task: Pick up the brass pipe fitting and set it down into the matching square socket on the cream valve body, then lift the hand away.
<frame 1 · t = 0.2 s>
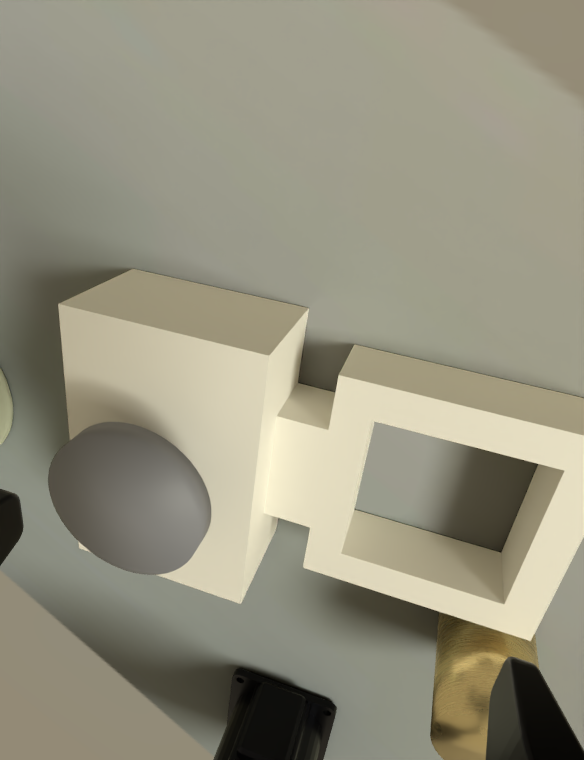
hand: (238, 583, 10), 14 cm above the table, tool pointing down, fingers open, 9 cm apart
pipe fitting: (485, 623, 27), on the table
valve body: (444, 472, 24), on the table
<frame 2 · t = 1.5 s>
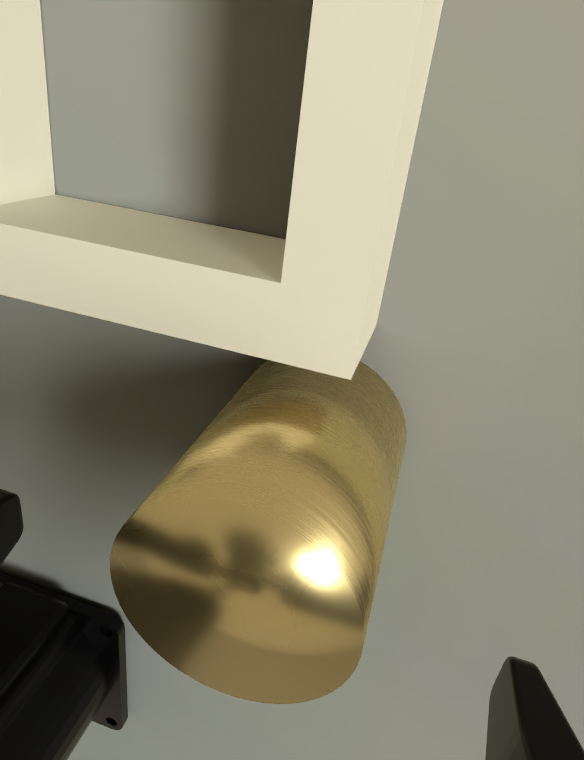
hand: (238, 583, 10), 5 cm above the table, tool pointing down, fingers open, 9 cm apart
pipe fitting: (319, 427, 14), on the table
valve body: (185, 49, 11), on the table
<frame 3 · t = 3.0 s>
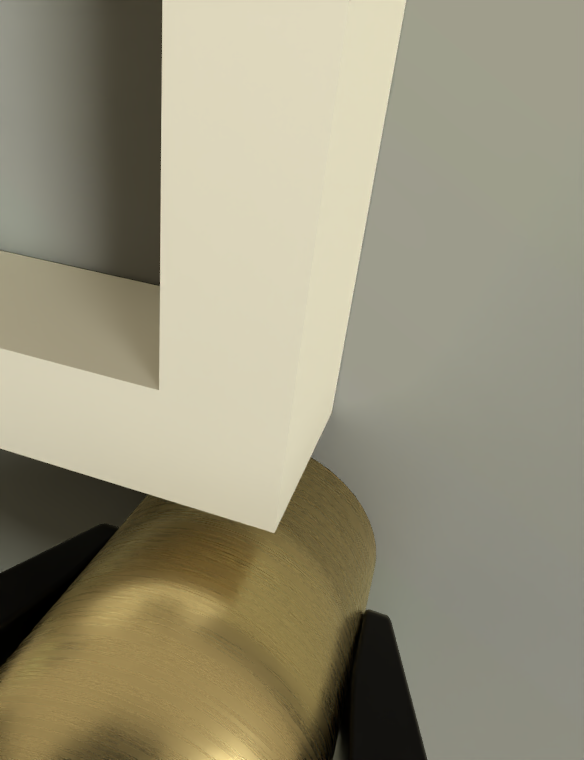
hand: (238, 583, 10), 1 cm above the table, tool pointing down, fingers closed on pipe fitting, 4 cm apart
pipe fitting: (262, 535, 11), on the table, touching gripper
valve body: (47, 28, 8), on the table
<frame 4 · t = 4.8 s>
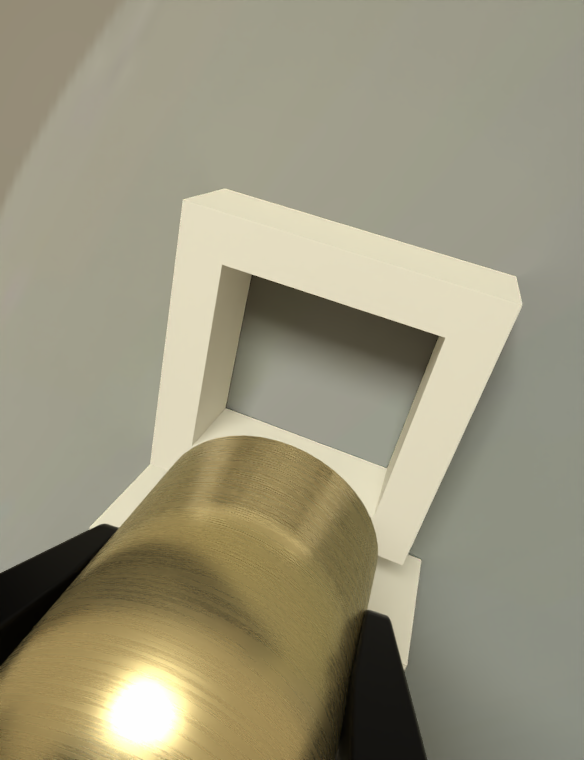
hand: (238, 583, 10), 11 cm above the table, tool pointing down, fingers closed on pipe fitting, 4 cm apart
pipe fitting: (263, 534, 11), point 10 cm above the table, touching gripper
valve body: (325, 362, 20), on the table
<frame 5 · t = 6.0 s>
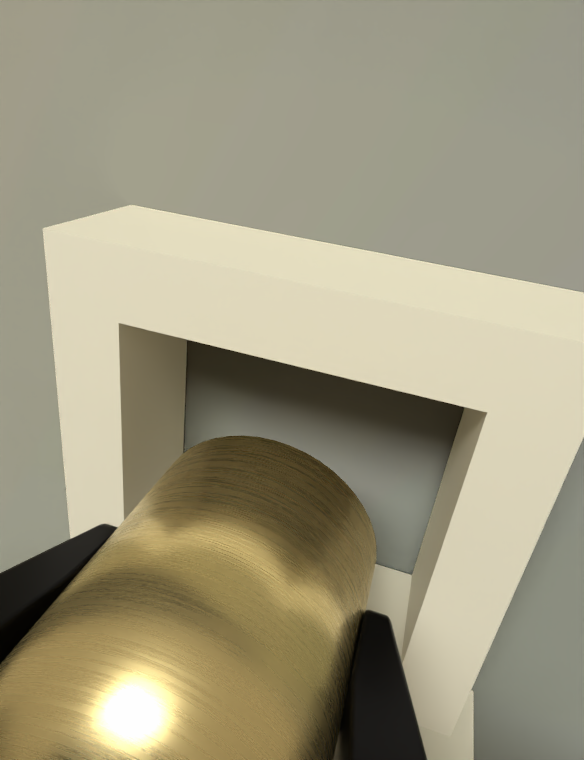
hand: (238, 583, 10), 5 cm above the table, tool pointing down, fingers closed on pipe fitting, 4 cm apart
pipe fitting: (262, 534, 11), point 4 cm above the table, touching gripper
valve body: (307, 437, 14), on the table
when the fingers open (4 cm above the table, at t = 7.0 s): pipe fitting drops 3 cm, resting in valve body.
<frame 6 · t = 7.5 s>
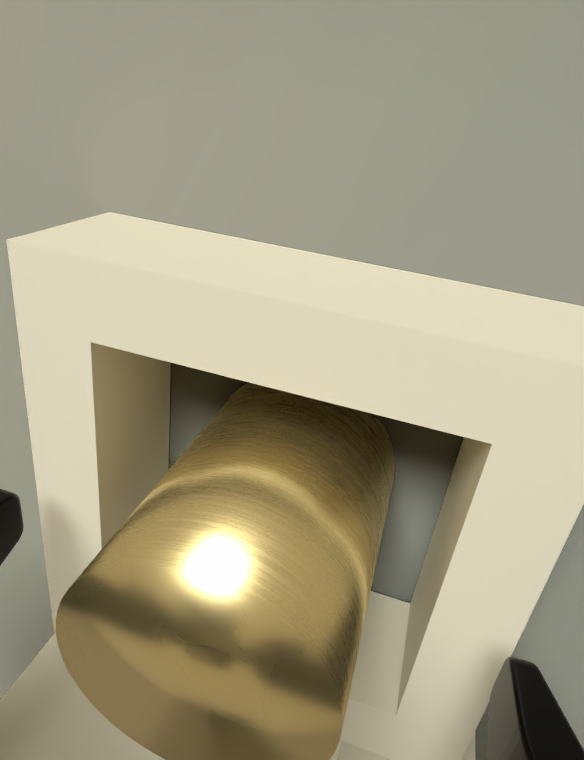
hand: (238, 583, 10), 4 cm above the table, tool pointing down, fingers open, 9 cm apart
pipe fitting: (301, 456, 13), resting in valve body
valve body: (299, 459, 13), on the table
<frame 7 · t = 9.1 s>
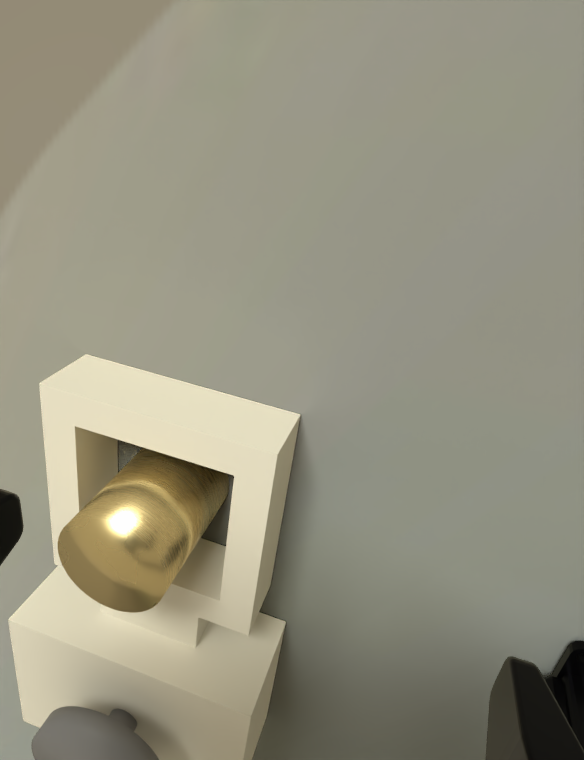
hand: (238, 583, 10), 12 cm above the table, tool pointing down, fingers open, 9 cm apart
pipe fitting: (184, 474, 25), resting in valve body
valve body: (183, 475, 25), on the table
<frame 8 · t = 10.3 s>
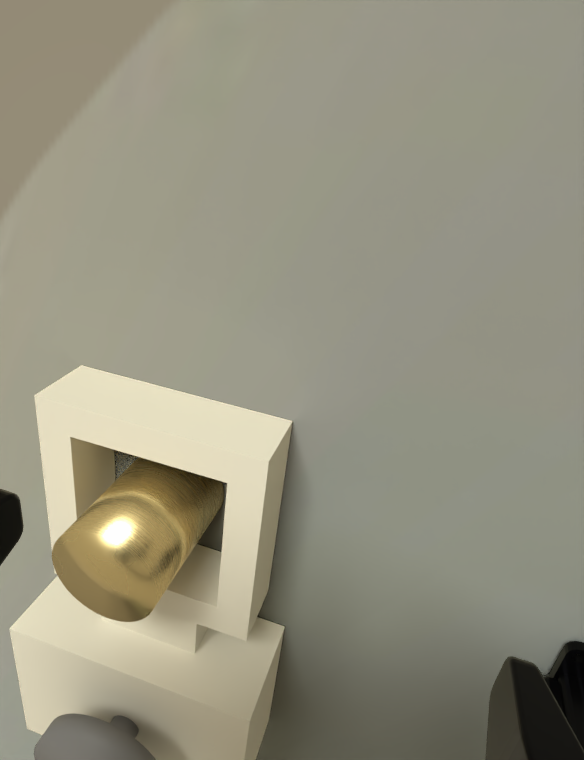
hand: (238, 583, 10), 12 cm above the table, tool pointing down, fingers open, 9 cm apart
pipe fitting: (180, 482, 25), resting in valve body
valve body: (179, 483, 25), on the table
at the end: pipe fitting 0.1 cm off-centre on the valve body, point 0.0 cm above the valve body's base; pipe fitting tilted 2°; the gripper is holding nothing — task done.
